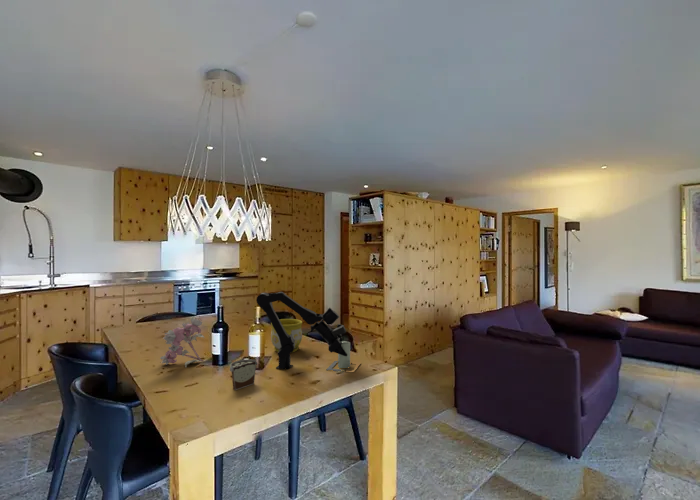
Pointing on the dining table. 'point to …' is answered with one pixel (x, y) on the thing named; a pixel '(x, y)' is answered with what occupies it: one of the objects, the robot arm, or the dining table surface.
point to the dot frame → (333, 366)
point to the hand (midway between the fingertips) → (347, 353)
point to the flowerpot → (291, 328)
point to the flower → (179, 335)
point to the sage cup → (344, 360)
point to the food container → (243, 373)
